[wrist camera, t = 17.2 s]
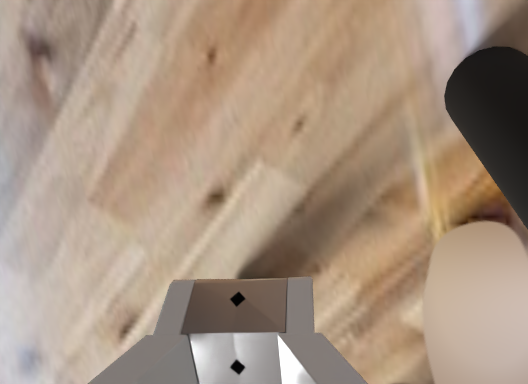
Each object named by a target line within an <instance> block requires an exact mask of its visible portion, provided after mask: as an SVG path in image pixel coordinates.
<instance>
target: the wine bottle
mask: <svg viewBox="0 0 528 384" xmlns="http://www.w3.org/2000/svg"><path fill="white" fill-rule="evenodd" d="M444 97H445V105H446V110H447V111H448V113H449V115H450V117H451V119H452V120H453V122H454V123H455V125H456V126H457V128H458V129H459V131H460V132H461V133H462V135H463V136H464V138H465V139H466V141H467V142H468V144H469V145H470V146H471V148H472V149H473V151H474V152H475V154H476V155H477V157H478V158H479V160H480V161H481V162H482V164H483V165H484V167H485V168H486V170H487V171H488V173H489V174H490V176H491V177H492V178H493V180H494V181H495V183H496V184H497V186H498V187H499V189H500V190H501V191H502V193H503V194H504V196H505V197H506V199H507V200H508V202H509V203H510V205H511V206H512V207H513V209H514V210H515V212H516V213H517V215H518V216H519V218H520V219H521V220H522V222H523V223H524V225H525V226H526V228H527V229H528V56H527V55H526V54H524V53H523V52H521V51H518V50H515V49H513V48H510V47H491V48H487V49H483V50H480V51H478V52H476V53H474V54H473V55H471V56H469V57H467V58H466V59H465V60H464V61H463V62H462V63H461V64H460V65H459V66H458V67H457V68H456V69H455V70H454V71H453V73H452V75H451V77H450V79H449V80H448V82H447V86H446V91H445V96H444Z"/></svg>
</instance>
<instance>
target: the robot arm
mask: <svg viewBox="0 0 528 384" xmlns="http://www.w3.org/2000/svg"><path fill="white" fill-rule="evenodd" d="M88 384H368V383H367V382H366V381H365V380H364V379H363V378H362V377H361V376H360V375H359V374H358V372H357V371H356V370H355V369H354V368H353V367H352V366H351V365H350V364H349V363H348V361H347V360H346V359H345V358H344V357H343V356H342V355H341V354H340V353H339V352H338V350H337V349H336V348H335V347H334V346H333V345H332V344H331V343H330V342H329V341H328V339H327V338H326V337H325V336H324V335H323V334H322V333H315V331H314V306H313V281H312V278H311V276H308V277H288V278H272V279H197V280H173V282H172V283H171V284H170V286H169V289H168V292H167V295H166V298H165V301H164V304H163V307H162V310H161V313H160V316H159V319H158V322H157V325H156V328H155V331H154V334H153V335H146V336H145V337H144V338H142V339H141V340H140V341H139V342H137V343H136V344H135V345H134V346H133V347H131V348H130V349H129V350H128V351H127V352H125V353H124V354H123V355H122V356H121V357H119V358H118V359H117V360H116V361H114V362H113V363H112V364H111V365H110V366H108V367H107V368H106V369H105V370H104V371H102V372H101V373H100V374H99V375H98V376H96V377H95V378H94V379H93V380H91V381H90V382H89V383H88Z"/></svg>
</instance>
